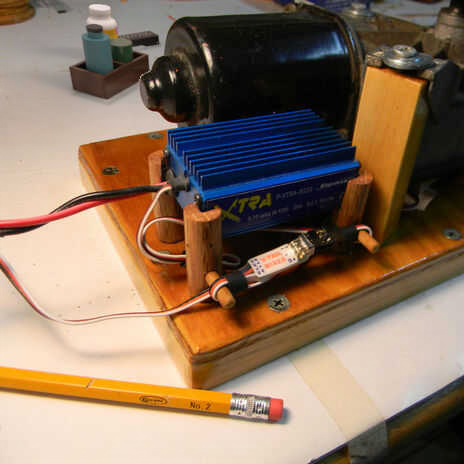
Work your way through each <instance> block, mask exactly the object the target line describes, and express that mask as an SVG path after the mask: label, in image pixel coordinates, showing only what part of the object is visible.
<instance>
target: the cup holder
mask: <svg viewBox="0 0 464 464" xmlns="http://www.w3.org/2000/svg"><path fill="white" fill-rule="evenodd" d="M149 56H150V55H149V54H148V53H144V52H141V51H137V50H134V49H133V58H134V60H132V61H130V62H128V63H126V64H125V63H121V62H118V61H114V60H112V61H113V69H114V70H112V71H110V72H108V73H106V74H104V75H102V74H98V73H95V72H91V71H88V70H87V67H86V61H85V59H84V60H81V61H80V62H77V63H75V64H73V65H70V66H68V70H69V76H70V79H71V85H72V90H73V91H77V92H81V93H84V94H86V95H90V96H93V97H97V98H101V99H104V100H110V99H111V98H113V97H115V96H117V95H118V94H120V93H122V92H124V91H125V90H128V88H131V87H132V86H134V85H136V84H137V83H139V82H140V81H139V79H140V76H141V75H142V74H144V73H146V72H148V71H151V70H150V59H149ZM138 81H139V82H138Z"/></svg>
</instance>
